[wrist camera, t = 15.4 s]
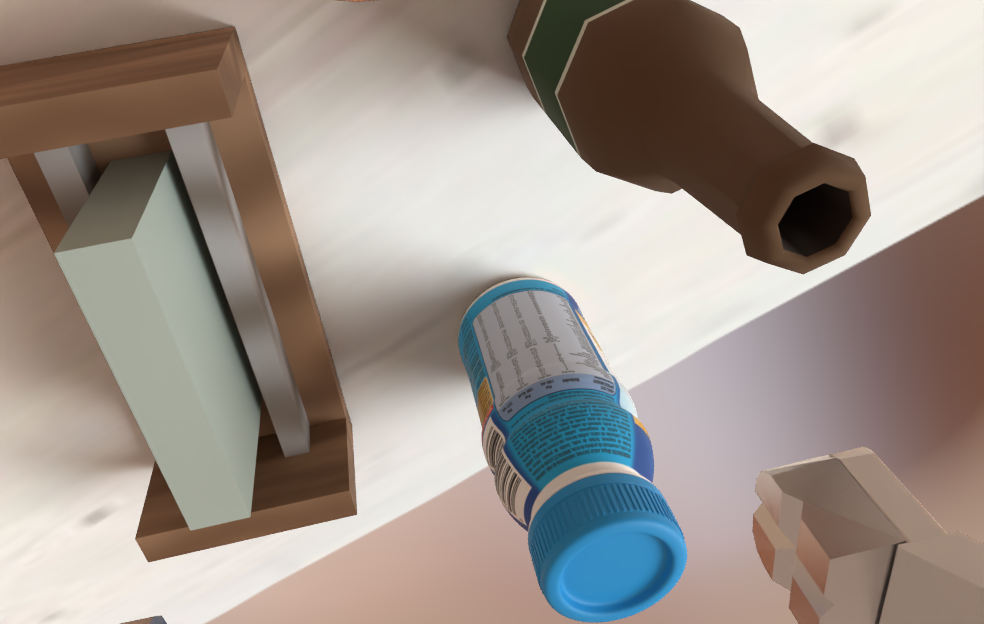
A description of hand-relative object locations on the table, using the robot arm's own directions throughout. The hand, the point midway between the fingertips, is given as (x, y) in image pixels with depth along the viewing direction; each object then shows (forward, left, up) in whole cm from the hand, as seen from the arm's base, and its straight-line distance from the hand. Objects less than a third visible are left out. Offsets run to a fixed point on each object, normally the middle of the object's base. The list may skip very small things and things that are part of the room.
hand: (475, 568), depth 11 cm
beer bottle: (+2, +11, -34) cm, 36 cm away
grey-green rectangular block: (+12, -12, -33) cm, 37 cm away
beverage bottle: (+20, +6, -34) cm, 40 cm away
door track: (+12, -12, -34) cm, 38 cm away
